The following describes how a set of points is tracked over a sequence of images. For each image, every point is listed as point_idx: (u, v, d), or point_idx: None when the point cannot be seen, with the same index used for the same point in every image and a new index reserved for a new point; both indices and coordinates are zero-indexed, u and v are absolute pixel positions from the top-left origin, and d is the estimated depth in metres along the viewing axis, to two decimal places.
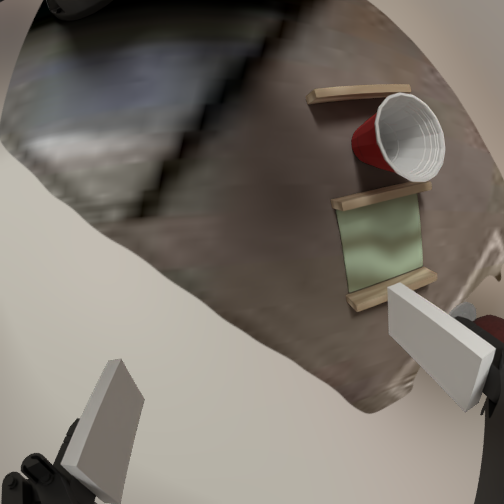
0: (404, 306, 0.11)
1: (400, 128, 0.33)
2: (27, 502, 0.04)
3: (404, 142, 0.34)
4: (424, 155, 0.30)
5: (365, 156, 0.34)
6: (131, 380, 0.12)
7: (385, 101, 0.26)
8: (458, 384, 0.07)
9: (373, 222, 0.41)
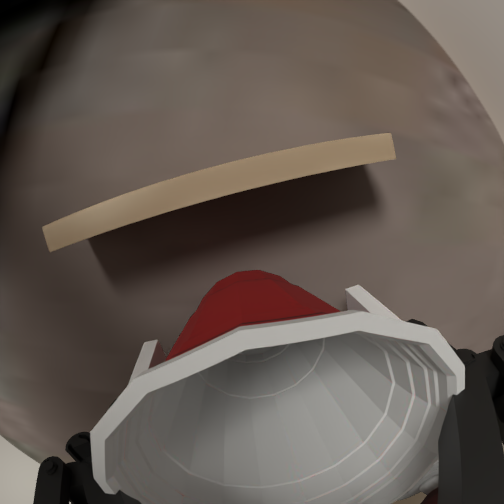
0: (358, 308, 0.12)
1: None
2: (65, 490, 0.05)
3: (339, 344, 0.13)
4: (373, 434, 0.09)
5: None
6: None
7: (120, 410, 0.04)
8: None
9: None
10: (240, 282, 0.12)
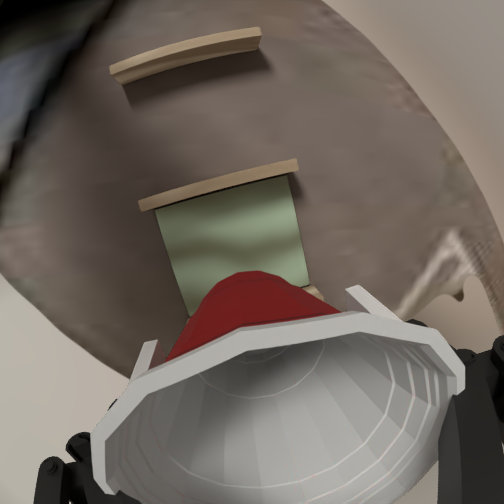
0: (358, 308, 0.12)
1: None
2: (66, 490, 0.05)
3: (339, 345, 0.13)
4: (374, 434, 0.09)
5: None
6: None
7: (120, 411, 0.04)
8: None
9: (211, 224, 0.31)
10: (240, 282, 0.12)
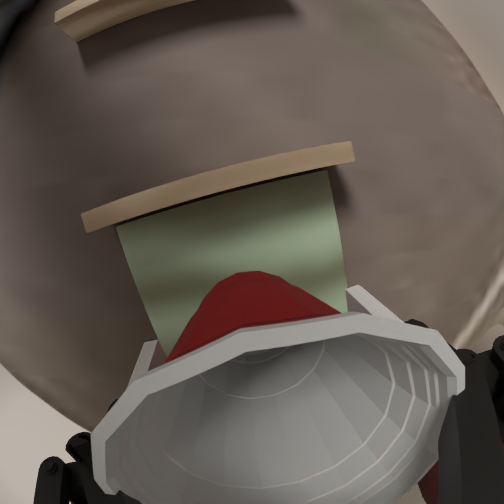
0: (358, 308, 0.12)
1: None
2: (65, 490, 0.05)
3: (339, 345, 0.13)
4: (374, 435, 0.09)
5: None
6: None
7: (120, 411, 0.04)
8: None
9: (205, 249, 0.19)
10: (240, 283, 0.12)
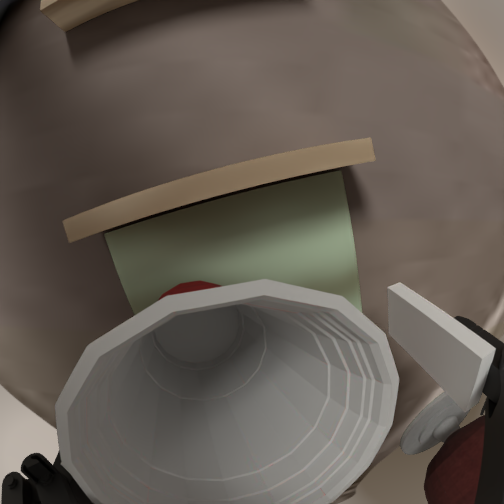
0: (404, 306, 0.11)
1: (263, 311, 0.13)
2: (28, 502, 0.04)
3: (278, 341, 0.14)
4: (321, 418, 0.10)
5: None
6: None
7: (78, 376, 0.05)
8: (458, 384, 0.07)
9: (205, 259, 0.17)
10: (181, 288, 0.13)
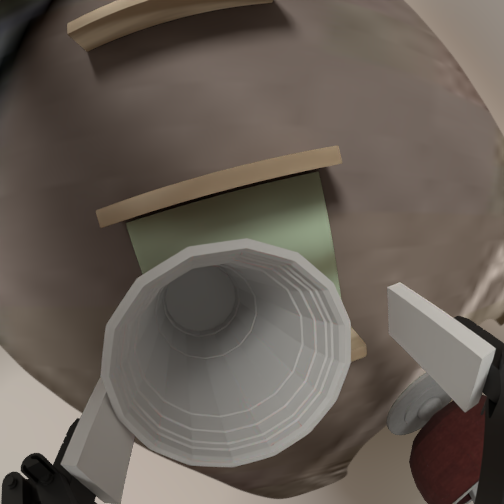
0: (404, 306, 0.11)
1: (252, 279, 0.17)
2: (28, 502, 0.04)
3: (266, 305, 0.18)
4: (297, 362, 0.15)
5: None
6: None
7: (127, 301, 0.09)
8: (458, 384, 0.07)
9: None
10: None
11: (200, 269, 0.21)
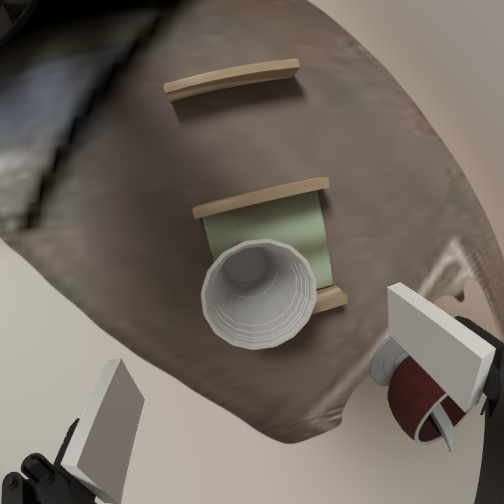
0: (404, 306, 0.11)
1: (275, 254, 0.32)
2: (27, 502, 0.04)
3: (281, 269, 0.33)
4: (293, 300, 0.30)
5: None
6: (131, 380, 0.12)
7: (218, 261, 0.25)
8: (458, 384, 0.07)
9: (252, 231, 0.36)
10: None
11: None
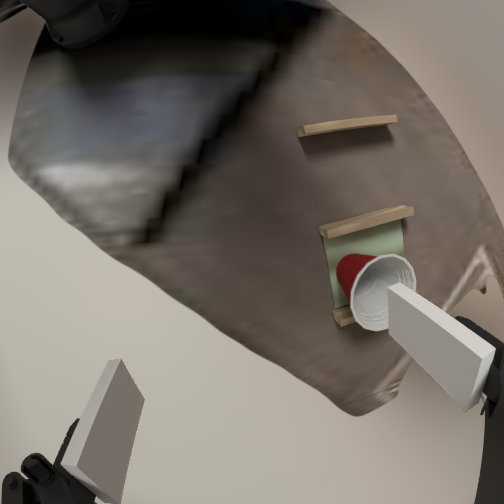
0: (404, 306, 0.11)
1: (380, 263, 0.41)
2: (28, 502, 0.04)
3: (383, 274, 0.42)
4: None
5: (344, 293, 0.42)
6: (131, 380, 0.12)
7: (364, 269, 0.34)
8: (458, 384, 0.07)
9: (357, 246, 0.46)
10: (358, 255, 0.42)
11: None
